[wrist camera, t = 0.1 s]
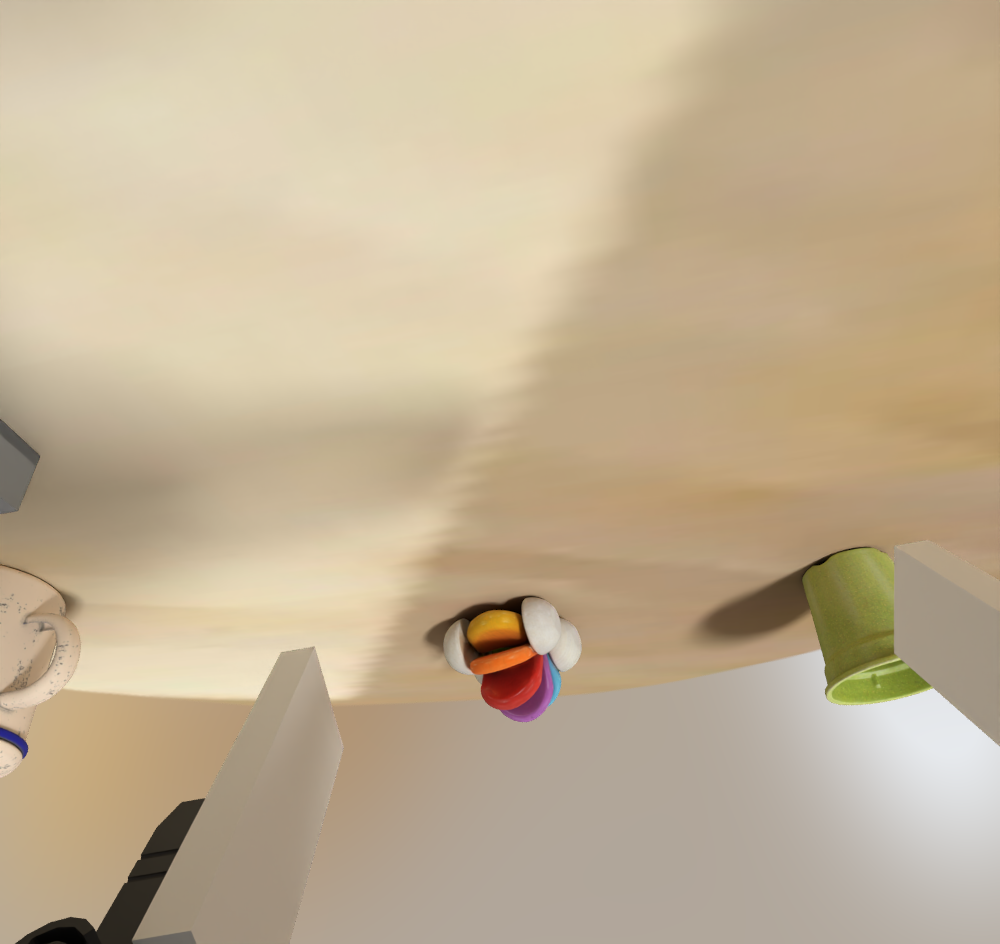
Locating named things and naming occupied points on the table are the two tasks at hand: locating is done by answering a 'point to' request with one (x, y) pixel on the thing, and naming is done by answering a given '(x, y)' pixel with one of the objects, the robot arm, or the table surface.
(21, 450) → the tray
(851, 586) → the plant pot
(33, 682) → the teacup with lid
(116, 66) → the table surface
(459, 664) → the rainbow segmented toy
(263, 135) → the table surface
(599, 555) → the table surface
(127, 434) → the table surface
